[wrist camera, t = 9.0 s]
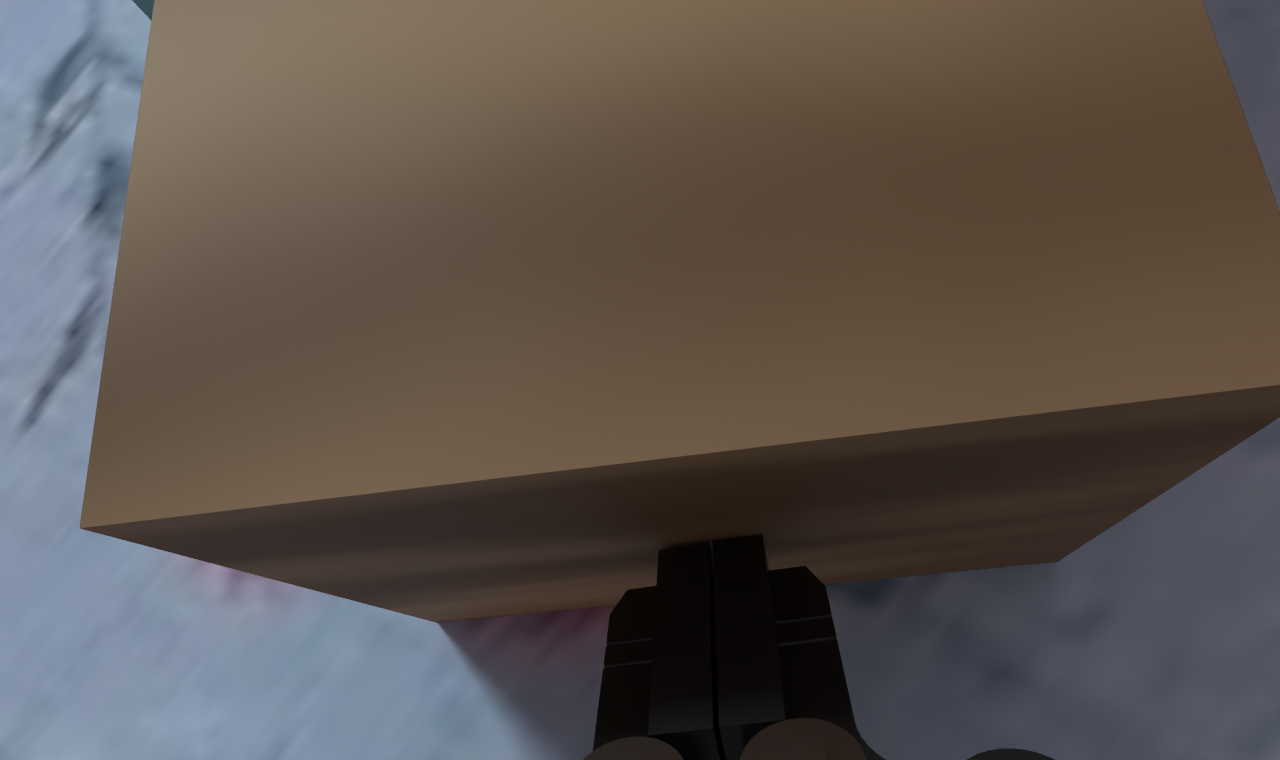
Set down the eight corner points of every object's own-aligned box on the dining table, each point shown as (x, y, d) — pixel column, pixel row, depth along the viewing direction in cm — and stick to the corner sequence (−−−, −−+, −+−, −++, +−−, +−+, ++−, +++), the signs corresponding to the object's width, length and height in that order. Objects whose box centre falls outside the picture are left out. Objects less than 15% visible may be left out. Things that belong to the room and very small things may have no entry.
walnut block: (1056, 561, 17) (1340, 378, 8) (439, 622, 19) (79, 528, 10) (912, -58, 23) (982, -598, 13) (440, 31, 24) (210, -396, 15)
